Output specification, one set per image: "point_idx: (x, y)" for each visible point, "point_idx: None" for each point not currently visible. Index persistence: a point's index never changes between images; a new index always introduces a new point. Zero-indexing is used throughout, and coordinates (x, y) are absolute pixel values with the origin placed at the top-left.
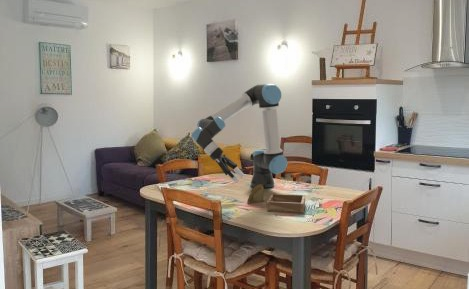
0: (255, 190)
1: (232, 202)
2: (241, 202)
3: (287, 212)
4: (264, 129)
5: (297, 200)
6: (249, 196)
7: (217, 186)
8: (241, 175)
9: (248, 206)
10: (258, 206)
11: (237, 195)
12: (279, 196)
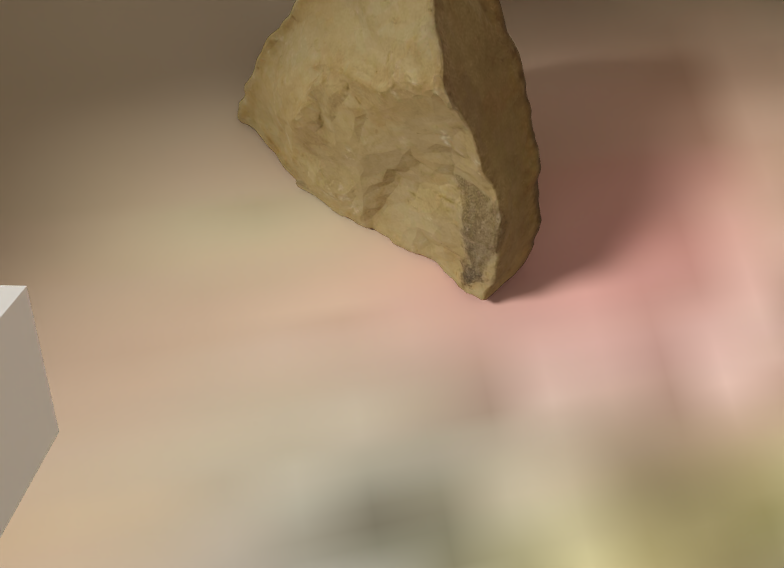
0: (502, 78)
1: (533, 547)
2: (499, 392)
3: None
4: None
5: None
6: (507, 233)
7: None
8: (15, 405)
9: (698, 250)
10: (658, 118)
11: (2, 563)
12: None
